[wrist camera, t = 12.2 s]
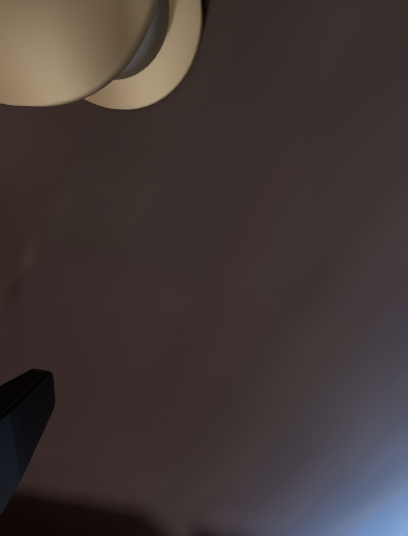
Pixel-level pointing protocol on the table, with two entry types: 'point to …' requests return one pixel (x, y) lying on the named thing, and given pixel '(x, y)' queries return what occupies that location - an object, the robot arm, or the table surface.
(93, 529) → the table surface
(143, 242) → the table surface
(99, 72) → the bobbin
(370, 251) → the table surface
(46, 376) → the robot arm
